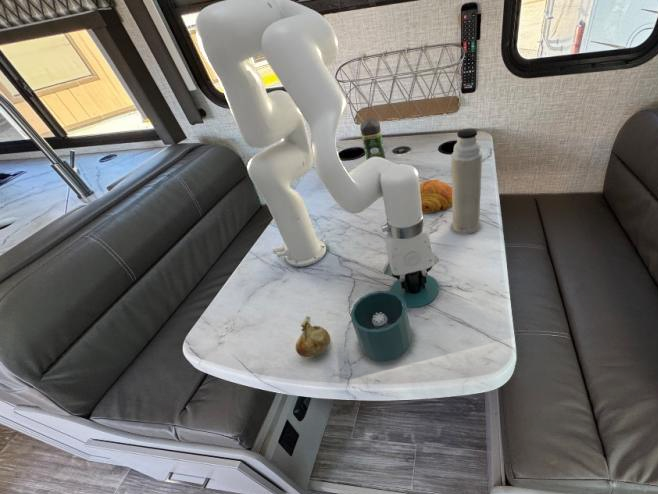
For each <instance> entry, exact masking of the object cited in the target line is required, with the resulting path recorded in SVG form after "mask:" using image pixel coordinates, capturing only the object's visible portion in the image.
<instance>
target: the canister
mask: <svg viewBox="0 0 658 494" xmlns="http://www.w3.org/2000/svg"><path fill="white" fill-rule="evenodd" d="M380 312H381V313H382V314H384V315H385V316H386V317H387V321H386V322H387V324H390V325H388V326H387V327H386V328H382V329H378V330H376V328H375V326H374V324H373V323H372V319H373V316H374V315H376V314H375V313H378V314H380ZM350 320H351V323H352V326H353V329H354V332H355V335H356V337H357V340H358V343H359V346H360V349H361V351H362V352H363V354H364V355H365V356H366V357H367V358H369V359H370V360H373V361H376V362H383V363H384V362H390V361H394V360H397V359H399V358H400V357H401V356H403V355H405V353H406V352H407V351H408V350H409V348H410V347H411V343H412V332H411V327H410V320H409V314H408V308H407V307H406V304H405V301H404V300H403V299H402V298H401V297H400V296H399V295H398V294H396V293H393V292H391V290H377V291H373V292H369V293H367V294H365V295H364V296H362V297H359V299H358V300H357V301H356V302H355V303H354V304H353V306H352V308H351V311H350Z"/></svg>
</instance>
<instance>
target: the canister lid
mask: <svg viewBox="0 0 658 494" xmlns="http://www.w3.org/2000/svg"><path fill="white" fill-rule="evenodd" d="M405 277H406V280H407V284H408V291H409V292H408V293H406V292H405V289H402V287H401V282H400V280H399V279H397V278H396V280H395V281H394V282H393V283H392V285H391V288H390V292H393V293H396V294H398V295H399V296H400V297H401V298H402V299H403V300H404V301H405V304H406V307H407V309H417V308H422V307H425V306H428V305H429V304H431V303H433V301H435V300H436V298H437V297H438V295H439V293H440V286H439V283H438V281H437V280H436V279H435V278H434V277H433V276H431V275H429V274H428V275H427V276H426V280H427V283H425V289H422V287H421V279H420V271H416V272H411V273H407V274H405Z"/></svg>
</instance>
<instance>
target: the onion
mask: <svg viewBox="0 0 658 494" xmlns="http://www.w3.org/2000/svg"><path fill="white" fill-rule="evenodd" d="M311 320H312V319H311V316H308V315H306V316H305V317H304V320H303V322H302V323H301V324H300V327H301V329H300V331H302V332H301V335H300V336H299V337H298V338H297V340H296V343H295V352H296V353H297V354H298V356H300V357H302V358H316V357H318V356H320V355H321V354H322V353H324V352H325V351H326V350H327V348H328V347H329V346H330V343H331V336H330V334H329V331H327V330H326V329H325V328H323V327H321V326H320V325H314V326H313V325H312V324H311Z"/></svg>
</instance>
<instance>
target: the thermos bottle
mask: <svg viewBox="0 0 658 494" xmlns="http://www.w3.org/2000/svg"><path fill="white" fill-rule="evenodd" d="M477 135H478V130H477V129H475V128H472V127H471V128H469V127H468V128H463V129H459V130H458V131H457V139H456V140H457V141H456V143H455V144H454V145H453V152H452V153H451V156H450V157H451V159H450V160H451V187H452V205H451V206H452V229H453V230H454V231H455V232H459V233H468V234H472V233H475V232H477V231H478V230H479V228H480V220H481V219H480V218H481V217H480V216H481V193H482V192H481V191H482V172H483V171H482V170H483V168H482V167H483V151H482V150H481V148H482V147H481V144H480V142H479V141H477V139H478V137H477Z"/></svg>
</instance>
